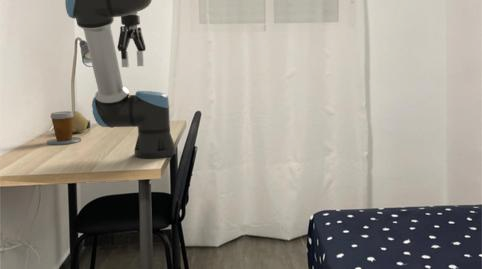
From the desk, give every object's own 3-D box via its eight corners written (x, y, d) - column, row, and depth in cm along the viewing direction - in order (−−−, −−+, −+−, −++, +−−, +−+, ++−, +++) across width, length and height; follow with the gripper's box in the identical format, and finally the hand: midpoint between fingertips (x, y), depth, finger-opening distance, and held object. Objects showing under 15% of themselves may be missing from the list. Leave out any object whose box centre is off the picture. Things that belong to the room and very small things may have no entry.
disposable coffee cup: (79, 139, 204) (77, 112, 202) (58, 143, 197) (56, 114, 195) (69, 137, 210) (67, 110, 208) (48, 140, 203) (46, 113, 201)
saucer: (68, 145, 195) (68, 143, 195) (39, 144, 199) (39, 142, 198) (87, 139, 208) (87, 137, 208) (60, 138, 212) (60, 136, 212)
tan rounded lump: (84, 129, 235) (82, 108, 233) (90, 133, 225) (89, 111, 223) (63, 132, 230) (62, 110, 228) (69, 135, 220) (67, 112, 218)
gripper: (136, 17, 207) (138, 65, 211) (106, 13, 183) (110, 67, 187) (151, 16, 205) (154, 65, 209) (123, 12, 181) (127, 67, 185)
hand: (133, 66), depth 198 cm, fingers open, 13 cm apart
